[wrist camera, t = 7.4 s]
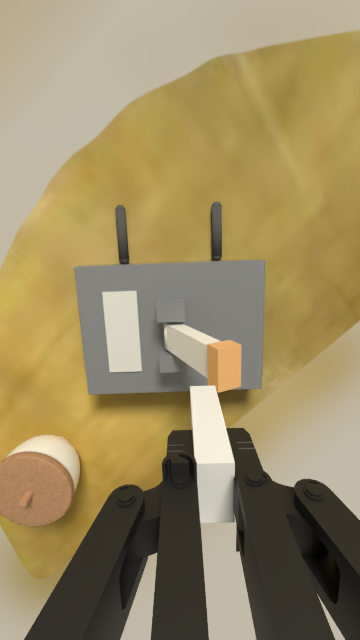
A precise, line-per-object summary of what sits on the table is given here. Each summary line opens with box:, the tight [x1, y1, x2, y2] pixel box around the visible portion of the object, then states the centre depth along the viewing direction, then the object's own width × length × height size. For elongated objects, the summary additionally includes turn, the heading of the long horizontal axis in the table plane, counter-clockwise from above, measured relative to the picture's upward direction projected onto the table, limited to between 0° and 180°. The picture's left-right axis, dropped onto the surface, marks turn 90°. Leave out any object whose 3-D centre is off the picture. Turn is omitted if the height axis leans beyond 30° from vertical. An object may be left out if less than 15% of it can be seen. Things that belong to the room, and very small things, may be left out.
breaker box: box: [74, 259, 265, 395], centre depth 36 cm, size 22×16×8 cm
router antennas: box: [115, 202, 222, 264], centre depth 37 cm, size 13×7×1 cm, turn 92°
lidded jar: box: [0, 435, 80, 526], centre depth 40 cm, size 11×11×9 cm
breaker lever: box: [164, 322, 241, 393], centre depth 28 cm, size 2×4×12 cm, turn 2°
